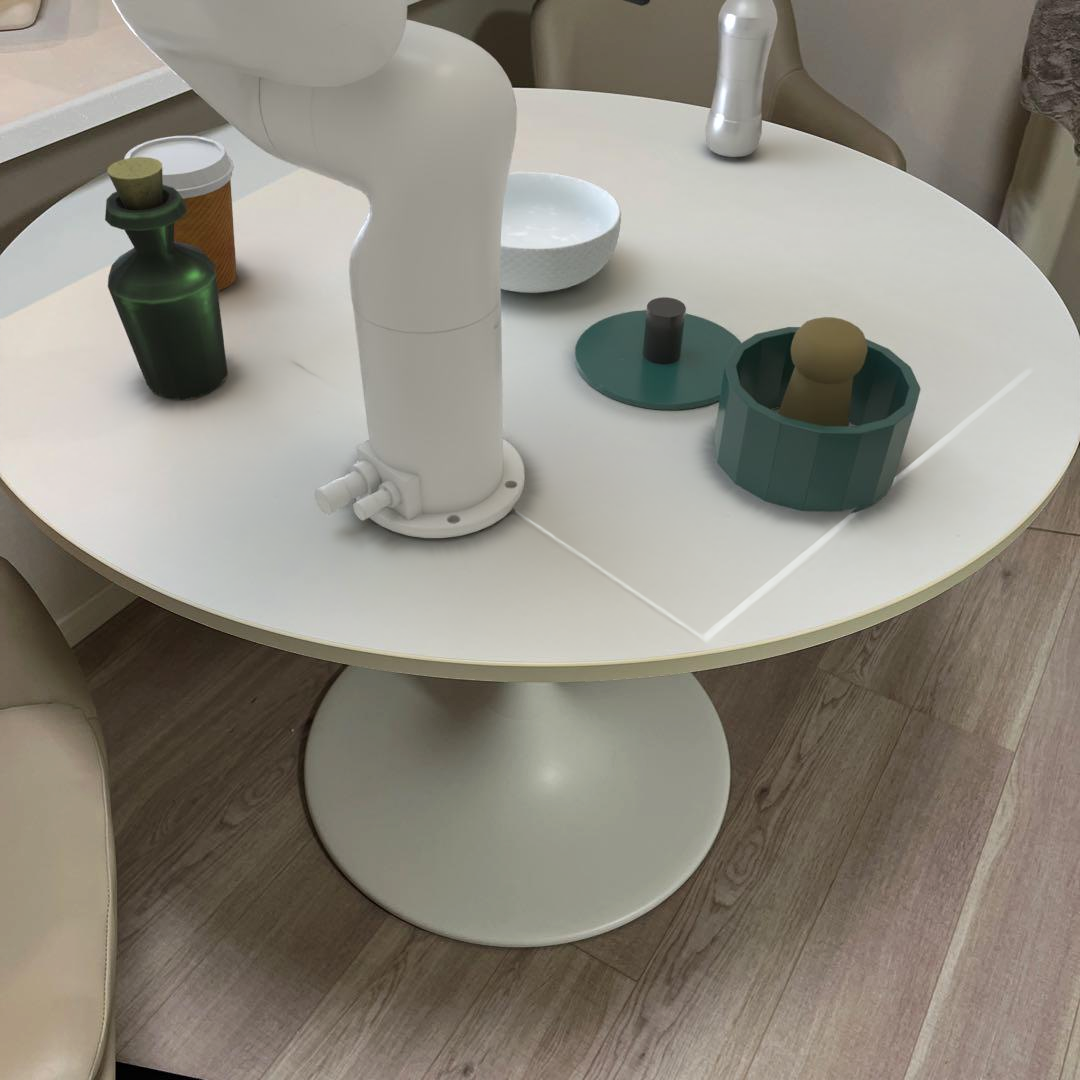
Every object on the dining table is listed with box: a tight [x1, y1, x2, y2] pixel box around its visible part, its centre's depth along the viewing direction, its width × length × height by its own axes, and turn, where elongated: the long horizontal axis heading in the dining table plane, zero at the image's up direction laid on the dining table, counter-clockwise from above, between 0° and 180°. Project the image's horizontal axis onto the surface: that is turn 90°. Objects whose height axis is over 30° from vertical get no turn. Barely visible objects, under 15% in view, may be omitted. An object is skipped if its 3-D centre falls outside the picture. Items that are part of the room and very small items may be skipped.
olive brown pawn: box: [777, 316, 867, 426], centre depth 77 cm, size 6×6×11 cm
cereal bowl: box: [501, 171, 622, 294], centre depth 99 cm, size 17×17×7 cm
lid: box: [574, 296, 742, 411], centre depth 88 cm, size 15×15×6 cm
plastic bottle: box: [704, 0, 779, 158], centre depth 118 cm, size 6×7×20 cm
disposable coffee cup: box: [123, 135, 238, 292], centre depth 96 cm, size 10×10×12 cm
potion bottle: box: [104, 157, 228, 400], centre depth 82 cm, size 8×8×18 cm
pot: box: [712, 326, 922, 514], centre depth 78 cm, size 14×14×8 cm
